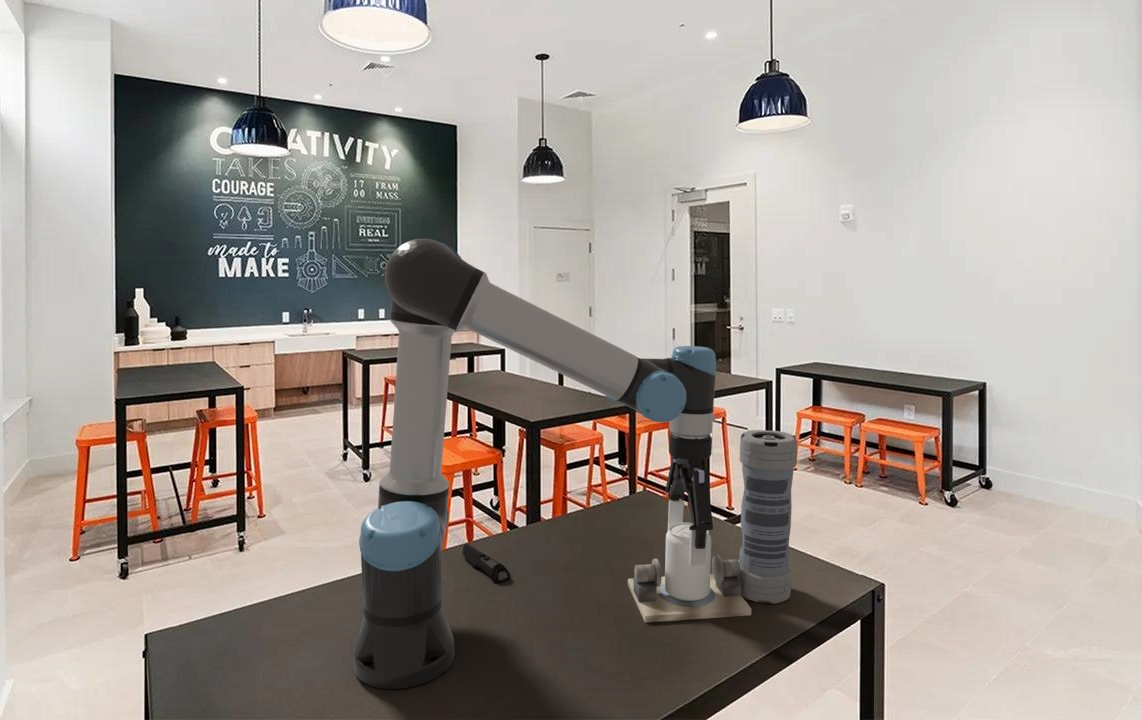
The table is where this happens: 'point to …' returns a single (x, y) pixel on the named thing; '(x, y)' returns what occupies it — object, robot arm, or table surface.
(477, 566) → the electric trimmer
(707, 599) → the cradle
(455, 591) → the table surface
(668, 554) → the beverage can
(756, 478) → the canister
